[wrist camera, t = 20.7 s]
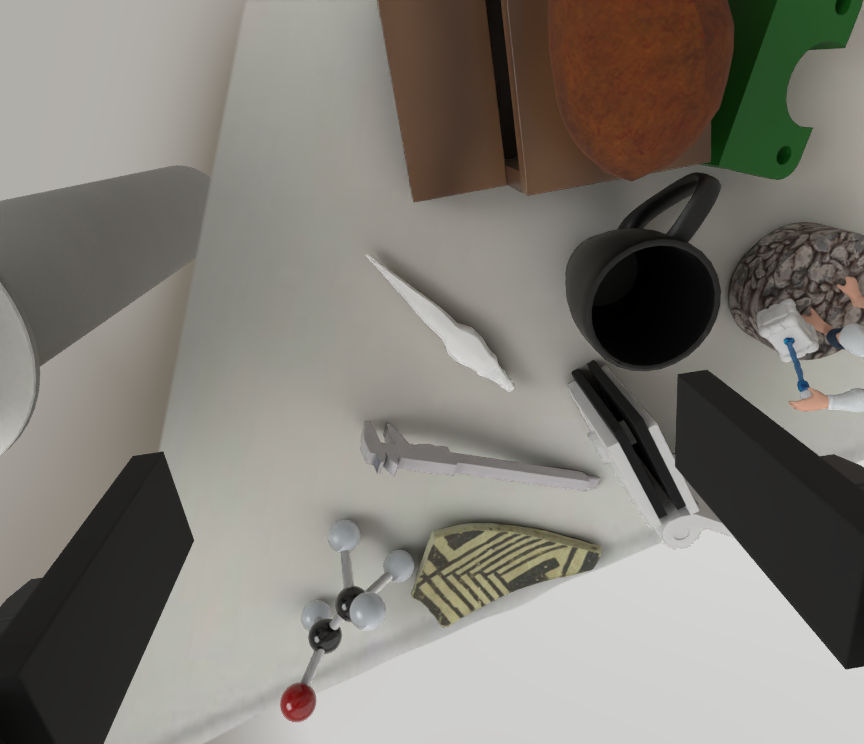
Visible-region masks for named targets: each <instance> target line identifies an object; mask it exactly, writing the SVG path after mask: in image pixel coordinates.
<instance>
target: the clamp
mask: <svg viewBox="0 0 864 744" xmlns="http://www.w3.org/2000/svg"><path fill="white" fill-rule="evenodd" d="M727 1H728V4H729V8H730V11H731V15H732V19H733V22H734V50H733V56H732V61H731V66H730V71H729V76H728V80H727V84H726V87H725V91H724V95H723V98H722V102H721V105H720V108H719V110H718V111H717V112H716V114H715V115H714V117H713V118H712V120H711V162H708V163H703V164H699V165H705V166H711V167H717V168H723V169H729V170H733V171H737V172H741V173H746V174H750V175H754V176H759V177H764V178H770V179H776V180H779V179H783V178H785V177H787V176H789V175H790V174H791V173H792V172H793V171H794V170H795V168H796V167H797V165H798V163H799V161H800V159H801V156H802V154H803V151H804V149H805V146H806V144H807V141H808V139H809V136H810V134H811V132H812V129H813V128H811V127H800V126H798V125H797V124H796V123H795V122H794V121H793V120H792V119H791V117H790V115H789V113H788V109H787V104H786V94H787V87H788V83H789V79H790V76H791V74H792V72H793V70H794V68H795V66H796V64H797V63H798V61H799V60H800V58H801V57H802V56H803V55H804V54H805V53H806V52H807V51H808V50H817V49H834V48H845V47H846V44H847V42H848V39H849V37H850V34H851V32H852V29H853V27H854V24H855V22H856V19H857V17H858V14H859V12H860V9H861V6H862V2H863V0H727Z"/></svg>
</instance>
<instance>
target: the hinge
mask: <svg viewBox="0 0 864 744" xmlns="http://www.w3.org/2000/svg"><path fill="white" fill-rule="evenodd" d="M587 365H588V367H589V369H590V371H591V373H592V375H593V377H594V379H595V381H596V383H597V385H598V387H599V388H600V390H601V392H602V394H603V396H604V398H605V400H606V402H607V404H608V406H609V408H610V410H611V412H612V413H611V412H610V410H609V409H608V408H607V406H606V405H605V404H604V402H603V401H602V400H601V398H600V397H599V396H598V394H597V393H596V392H595V390H594V389H593V388H592V386H591V385H590V384H589V382H588V381H587V380H586V378H585V377H584V376H583V374H582V373H581V372H580V370H579V369H576V370H575V371H573V372H571V373H572V375H573V377H574V379H575V381H573V382H571V383H569V384H567V385H566V386H567V388H568V390H569V392H570V393H571V395H572V397H573V399H574V401H575V403H576V405H577V406H578V408H579V410H580V412H581V414H582V416H583V417H584V419H585V421H586V423H587V425H588V427H589V429H590V430H591V432H589V433H587V435H588V437H589V439H590V440H591V442H592V444H593V446H594V448H595V449H596V451H597V453H598V455H599V456H600V458H601V460H602V461H603V463H604V464H606V463H609V464H610V466H611V467H612V469H613V471H614V473H615V475H616V476H617V478H618V480H619V482H620V483H621V485H622V486H623V488H624V490H625V491H626V493H627V494H628V496H629V498H630V499H631V501H632V502H633V504H634V505H635V507H636V509H637V510H638V512H639V513H640V515H641V517H642V518H643V520H644V521H645V523H646V525H647V526H649V527H650V529H653V528H654V529H655V530H656V532H657V533H658V535H659V536H660V538H661V539H662V541H663V543H664V544H665V545H667V546H668V547H670V548H672V549H681V548H687V547H689V546H690V545H691V544H693V543H694V542H695V541H696V540H697V539H698V538H699V536H700V534H701V532H702V531H703V530H704V529H709V530H712V531H715V532H718V533H721V534H724V535H727V536H730V537H733V538H735V537H734V536H733V535H732V534H731V533H730V531H729V530H728V529H727V528H726V527H725V526H724V524H723V523H722V522H721V521H720V520H719V518H718V517H717V516H716V515H715V514H714V512H713V511H712V510H711V509H710V508H709V507H708V505H707V504H706V503H705V502H704V501H703V499H702V498H701V497H700V496H699V495H698V493H697V492H696V491H695V490H694V489H693V488H692V486H691V485H690V484H689V483H688V482H687V480H686V479H685V478H684V477H683V476H682V474H681V473H680V472H679V471H678V470H677V469H676V467H675V454H672V453H671V451H670V449H669V447H668V445H667V443H666V441H665V439H664V437H663V434H662V432H661V430H660V428H659V426H658V424H657V423H656V422H655V421H654V419H653V418H652V417H651V416H650V415H649V414H648V413H647V411H646V410H645V409H644V408H643V407H642V406H641V405H640V403H639V402H638V401H637V400H636V399H635V398H634V397H633V395H632V394H631V393H630V392H629V391H628V390H627V389H626V387H625V386H624V385H623V384H622V383H621V382H620V381H619V379H618V378H617V377H616V376H615V375H614V374H613V373H612V371H611V370H610V369H609V368H608V367H607V366H606V365H605V366H603V367H602V368H600V367H599V365H598V364H597V363H596V362H595V361H594V360H593V361H591V362H589V363H588V364H587Z"/></svg>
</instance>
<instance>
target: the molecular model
mask: <svg viewBox="0 0 864 744" xmlns="http://www.w3.org/2000/svg"><path fill="white" fill-rule="evenodd" d="M359 540H360V531H359V528H358V527H357V525H356V524H355V523H353V522H352V521H350V520H339V521H337V522H335V523H334V524H333V525H332V526H331V528H330V529H329V532H328V542H329V544H330V546H331V547H332V549H334V550H335V551H337V552H340V553H341V562H342V573H343V584H344V589H343V590H342V591H341V592H340V593H339V594H338V596H337V598H336V602H335V607H336V611H337V615H336V616H335V617H334V618H333V619H331V618H332V613H331V609H330V607H329V606H328V605H327V604H326V603H325V602H323V601H320V600H314V601H311V602H309V603H308V604H307V605H306V606H305V607H304V608H303V610H302V613H301V623H302V625H303V627H304V628H305V629H306V630H307V631H309V635H308V639H309V644H310V646H311V647H312V649H313V650H314V653H313V655H312V658H311V660H310V662H309V664H308V667H307V669H306V671H305V673H304V676H303V678H302V680H301V682H299V683H294V684H292V685H290V686H289V687H288V688H287V689H286V690H285V691H284V693H283V695H282V697H281V702H280V707H281V711H282V714H283V715H284V717H285V718H286V719H288V720H289V721H292V722H301V721H304V720H306V719H307V718H308V717H309V716H310V715H311V714H312V713H313V711H314V709H315V705H316V695H315V692H314V690H313V689H312V688H311V687H310V685H311V682H312V680H313V678H314V675H315V673H316V671H317V668H318V666H319V664H320V661H321V659H322V657H323V654H328V653H331V652H333V651H334V650H335V649H336V648H337V647H338V646H339V644H340V642H341V638H342V631H341V628H340V626H341V624H342V623H343V622H344V621H348V622H352V623H353V624H354V625H355V626H356V627H357V628H358V629H360V630H363V631H371V630H374V629H376V628H377V627H379V626H380V625H381V623H382V622H383V620H384V618H385V614H386V607H385V603H384V601H383V600H382V598H381V597H380V596H379V595H377V593H378V592H379V591H380V590H381V589H382V588H383V587H384V586H385V585H386V584H387V583H389V582H390V581H394V582H404V581H406V580H408V579H409V578H410V577H411V575H412V574H413V571H414V566H415V565H414V560H413V558H412V556H411V555H410V554H409V553H408V552H406V551H404V550H394V551H392V552H390V553H389V554H388V555H387V556H386V558H385V560H384V563H383V569H384V574H383V575H382V576H381V577H380V578H379V579H378V580H377V581H375V582H374V583H373V584H372V585H371V586H370V587H369V588H368V589H367V590H366V591H364V590H363V589H362V588H360V587H358V586H354V583H353V573H352V563H351V553H350V551H352V550H353V549H355V548H356V546H357V545H358V543H359Z"/></svg>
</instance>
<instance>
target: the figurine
mask: <svg viewBox="0 0 864 744" xmlns="http://www.w3.org/2000/svg"><path fill="white" fill-rule="evenodd" d="M729 304H730V310H731V313H732V316H733V318H734V320H735V321H736V323H737V324H738V326H739V327H740V328H741V329H742V330H743V331H744V332H746V333H747V334H748V335H750V336H752V337H753V338H755V339H757V340H758V341H760V342H762V343H763V344H765V345H767V346H768V347H770V348H772V349H773V350H775V351H777V352H778V353H779V358H780V359H781V360H782V361H783V362H789V361H793V363H794V367H795V370H796V373H797V375H798V380H799V381H798V384H797V386H798V389H799V391H800V392H801V393H800V398H801V400H800V401H789V404H790V405H791V406H792V407H793V408H794V409H798V410H801V411H812V410H819V409H823V408H827V409H828V410H834V409H835V410H844V411H853V412H864V389H861V388H855V389H851V390H850V391H848V392H845V393H842V394H838V395H827V396H826V395H824V394H822V393H821V392H819V391H817V390H814V389H812V388H810V387H809V384H808V382H807V381H804V379H803V372H802V369H801V367H800V362H799V360H812V359H818V358H822V357H826V356H829V355H831V354H834V353H836V352H838V351H840V350H842V349H846V350H847V351H849V352H850V353H852V354H854V355H856V356H859V357H864V235H861V234H857V233H853V232H849V231H845V230H841V229H837V228H833V227H829V226H825V225H821V224H816V223H808V222H804V223H795V224H791V225H787V226H784V227H782V228H779V229H777V230H775V231H773V232H771V233H770V234H768V235H767V236H765V237H764V238H763V239H762V240H760V241H759V242H758V243H757V244H756V245H755V246H754V247H753V248H752V249H751V250H750V251H749V252H748V253H747V254H746V255H745V256H744V258H743V259H742V260H741V262H740V263H739V265H738V267H737V269H736V271H735V273H734V275H733V278H732V281H731V285H730V290H729ZM798 359H799V360H798Z"/></svg>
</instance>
